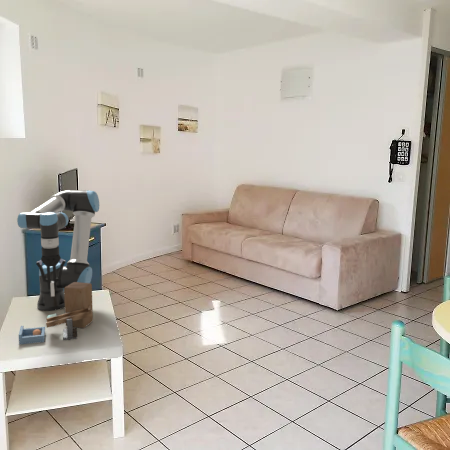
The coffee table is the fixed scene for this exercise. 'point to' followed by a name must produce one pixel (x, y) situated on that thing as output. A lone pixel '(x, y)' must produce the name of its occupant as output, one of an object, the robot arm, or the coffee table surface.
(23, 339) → the blue square tray
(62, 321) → the lever
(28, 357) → the coffee table surface
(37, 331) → the ball
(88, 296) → the wooden block
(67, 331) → the fulcrum
